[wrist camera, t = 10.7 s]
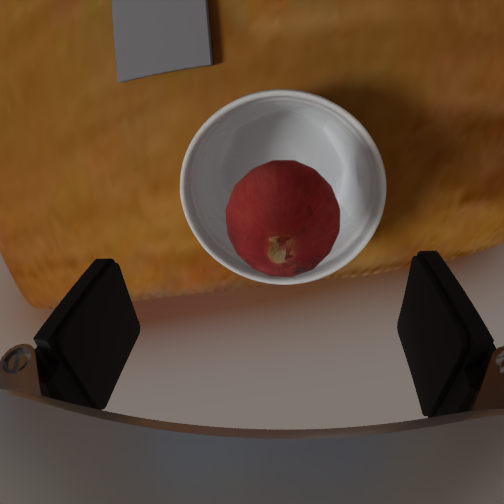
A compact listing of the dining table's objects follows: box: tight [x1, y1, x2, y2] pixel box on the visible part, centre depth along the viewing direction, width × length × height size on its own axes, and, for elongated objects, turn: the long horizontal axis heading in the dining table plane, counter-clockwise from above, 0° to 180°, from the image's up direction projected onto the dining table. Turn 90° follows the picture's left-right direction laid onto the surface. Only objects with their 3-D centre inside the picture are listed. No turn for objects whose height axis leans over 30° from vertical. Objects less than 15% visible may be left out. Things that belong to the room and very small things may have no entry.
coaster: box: [112, 0, 213, 83], centre depth 20 cm, size 8×8×1 cm
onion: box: [225, 160, 340, 277], centre depth 16 cm, size 6×6×8 cm
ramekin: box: [180, 89, 386, 285], centre depth 23 cm, size 13×13×7 cm
